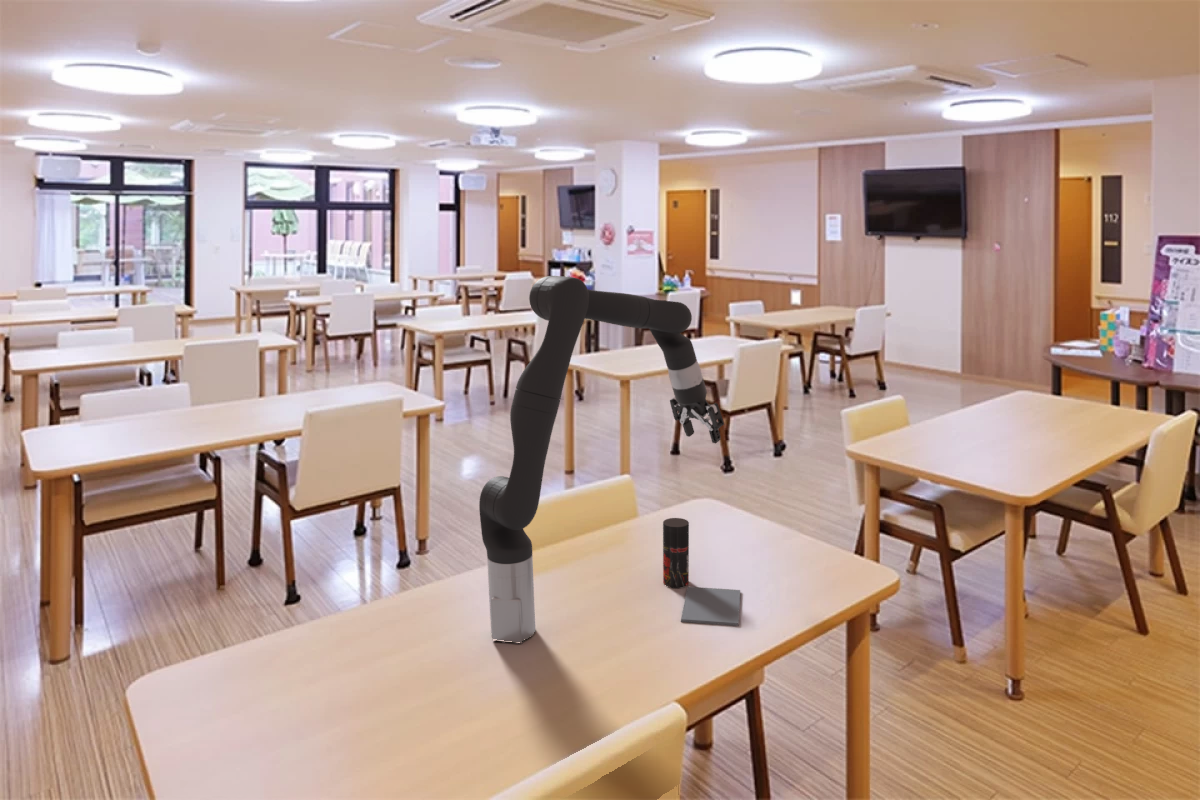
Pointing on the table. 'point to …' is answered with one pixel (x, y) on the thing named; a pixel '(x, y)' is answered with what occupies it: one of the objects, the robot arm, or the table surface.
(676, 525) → the deodorant
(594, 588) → the table surface
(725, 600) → the mat
